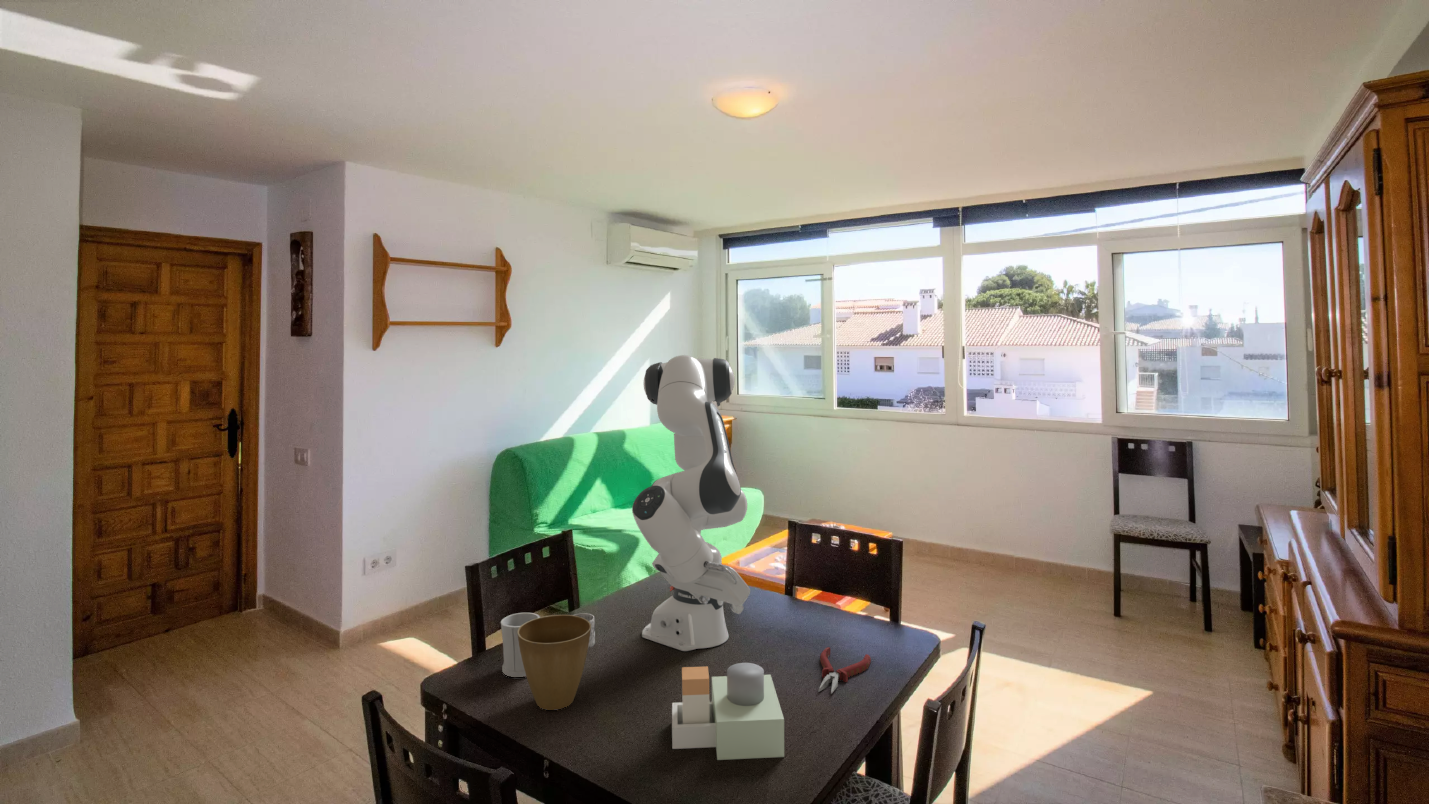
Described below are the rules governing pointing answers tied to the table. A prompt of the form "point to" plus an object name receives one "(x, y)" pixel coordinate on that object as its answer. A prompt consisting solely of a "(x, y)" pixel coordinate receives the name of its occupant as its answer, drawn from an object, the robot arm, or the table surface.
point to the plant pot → (554, 657)
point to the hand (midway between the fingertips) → (722, 605)
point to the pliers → (839, 670)
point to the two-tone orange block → (695, 695)
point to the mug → (591, 620)
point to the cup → (513, 643)
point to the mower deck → (736, 717)
